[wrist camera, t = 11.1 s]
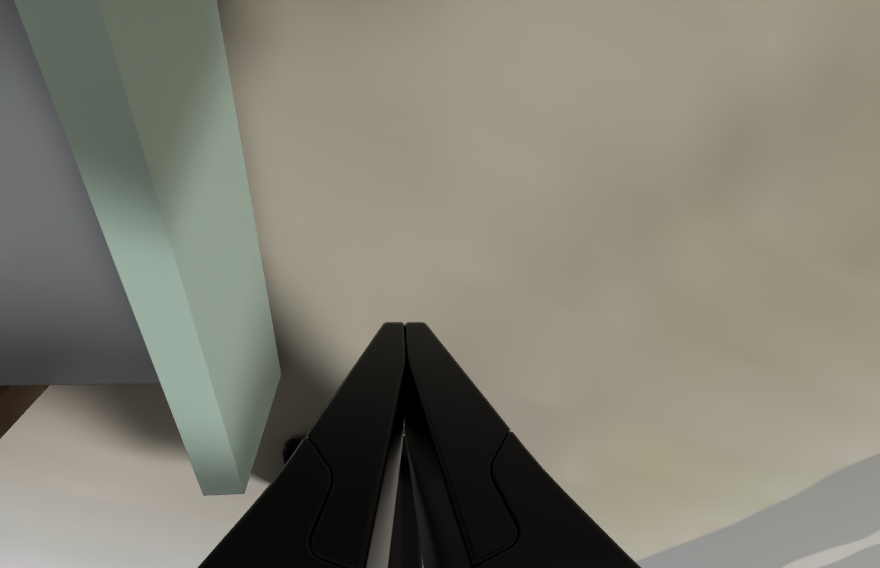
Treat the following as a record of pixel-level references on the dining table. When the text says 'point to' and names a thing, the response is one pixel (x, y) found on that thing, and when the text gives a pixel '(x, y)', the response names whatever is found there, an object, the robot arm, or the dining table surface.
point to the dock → (16, 402)
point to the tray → (133, 219)
